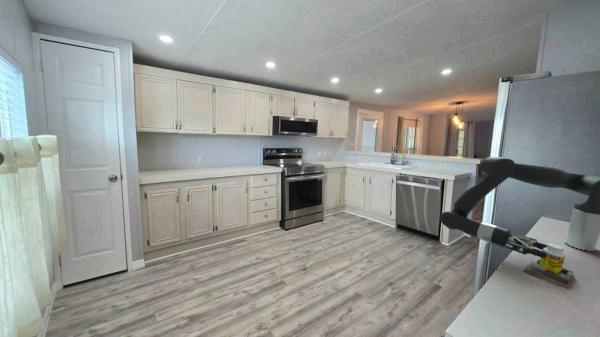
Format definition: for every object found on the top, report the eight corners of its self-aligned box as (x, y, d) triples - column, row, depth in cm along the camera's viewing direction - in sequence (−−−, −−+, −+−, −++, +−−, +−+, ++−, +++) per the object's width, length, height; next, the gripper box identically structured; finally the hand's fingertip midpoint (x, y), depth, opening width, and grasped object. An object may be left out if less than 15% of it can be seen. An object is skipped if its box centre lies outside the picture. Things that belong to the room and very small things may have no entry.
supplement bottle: (544, 274, 84) (551, 247, 82) (534, 266, 89) (540, 240, 87) (564, 278, 82) (571, 251, 80) (553, 269, 87) (559, 243, 85)
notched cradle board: (532, 262, 93) (533, 256, 93) (574, 277, 84) (575, 271, 84) (523, 271, 87) (524, 265, 86) (567, 289, 78) (569, 282, 77)
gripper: (488, 229, 93) (546, 247, 80) (501, 222, 101) (555, 238, 88) (485, 247, 95) (541, 268, 82) (497, 239, 103) (550, 256, 90)
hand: (548, 252), depth 85 cm, fingers open, 8 cm apart
